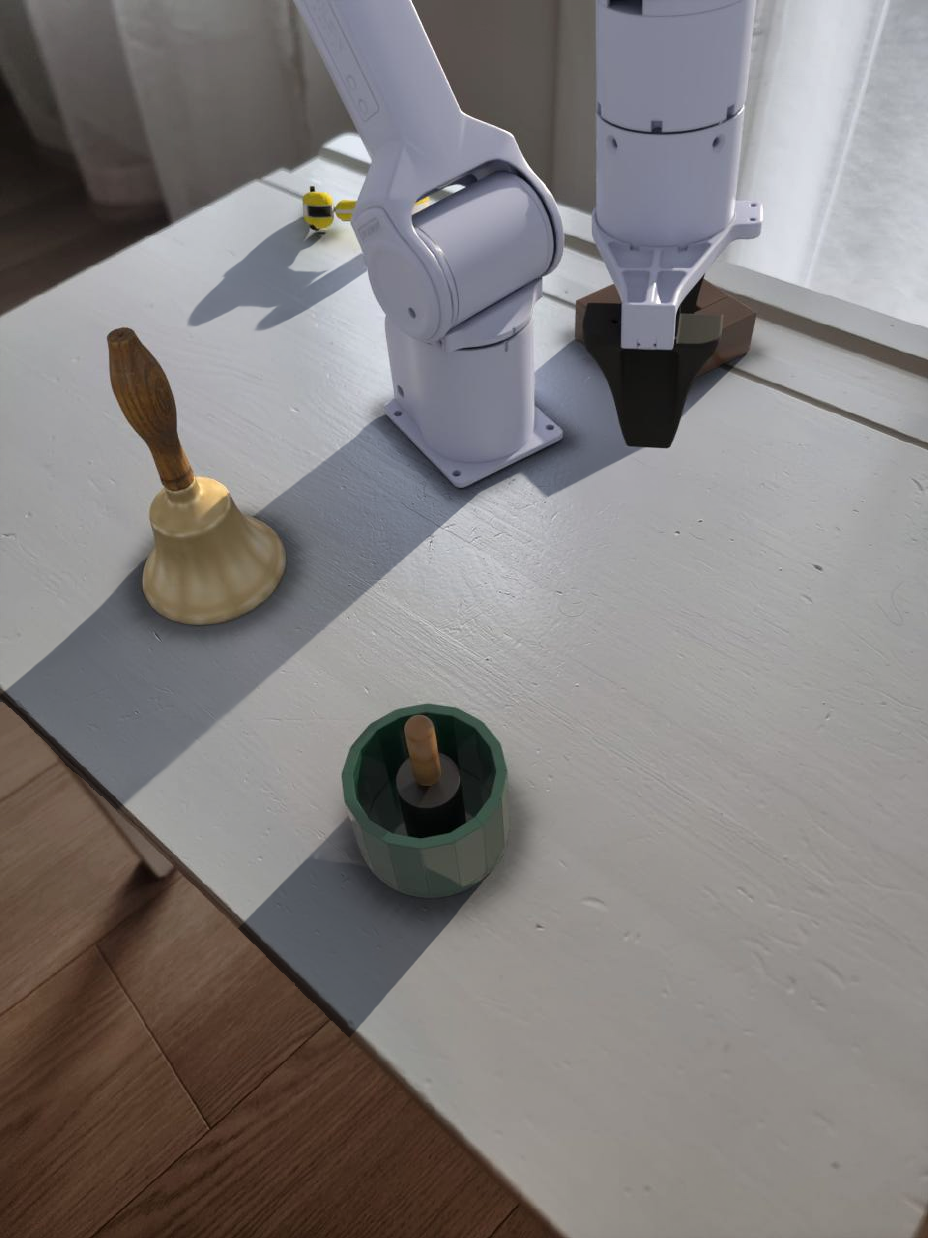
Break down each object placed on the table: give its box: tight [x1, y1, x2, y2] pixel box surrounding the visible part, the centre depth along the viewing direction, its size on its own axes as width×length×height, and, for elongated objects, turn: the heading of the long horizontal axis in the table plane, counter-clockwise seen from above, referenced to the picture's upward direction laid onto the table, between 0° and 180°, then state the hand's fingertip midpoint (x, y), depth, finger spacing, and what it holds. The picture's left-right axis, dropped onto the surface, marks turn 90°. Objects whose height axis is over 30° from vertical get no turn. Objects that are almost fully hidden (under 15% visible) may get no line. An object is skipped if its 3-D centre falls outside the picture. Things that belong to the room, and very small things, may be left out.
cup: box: [340, 703, 511, 899], centre depth 44 cm, size 7×7×5 cm
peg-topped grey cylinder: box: [396, 715, 466, 839], centre depth 43 cm, size 3×3×8 cm
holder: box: [574, 278, 758, 378], centre depth 67 cm, size 8×8×3 cm
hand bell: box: [106, 326, 287, 626], centre depth 51 cm, size 8×8×16 cm
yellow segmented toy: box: [302, 185, 431, 236], centre depth 79 cm, size 10×6×4 cm, turn 80°
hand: (655, 393), depth 49 cm, fingers open, 7 cm apart
